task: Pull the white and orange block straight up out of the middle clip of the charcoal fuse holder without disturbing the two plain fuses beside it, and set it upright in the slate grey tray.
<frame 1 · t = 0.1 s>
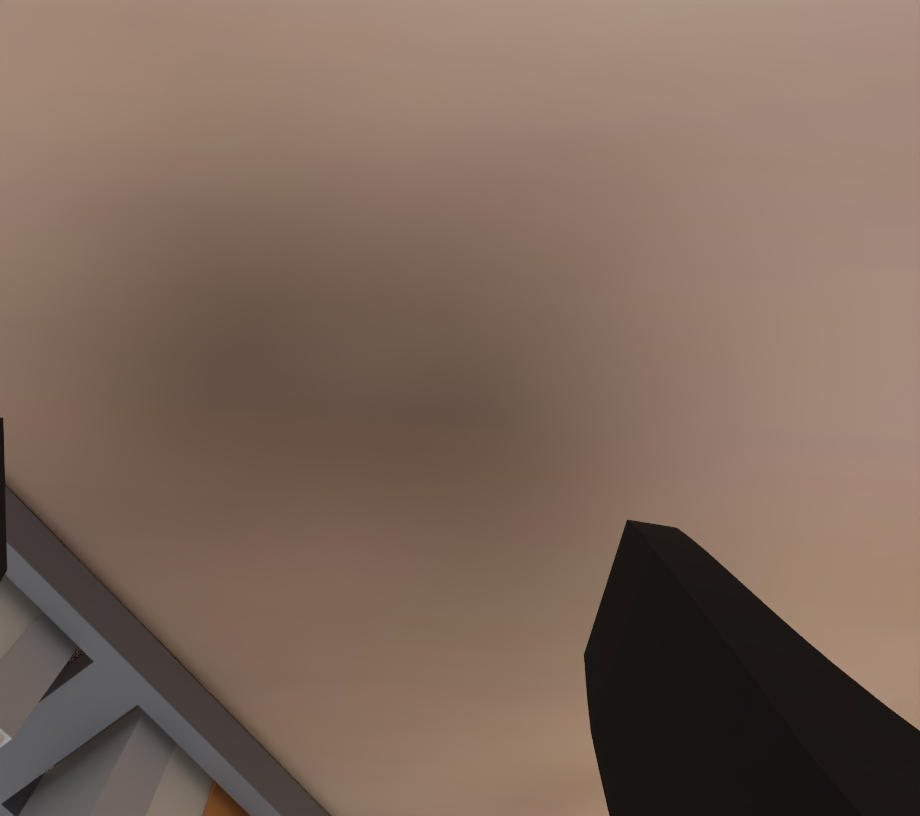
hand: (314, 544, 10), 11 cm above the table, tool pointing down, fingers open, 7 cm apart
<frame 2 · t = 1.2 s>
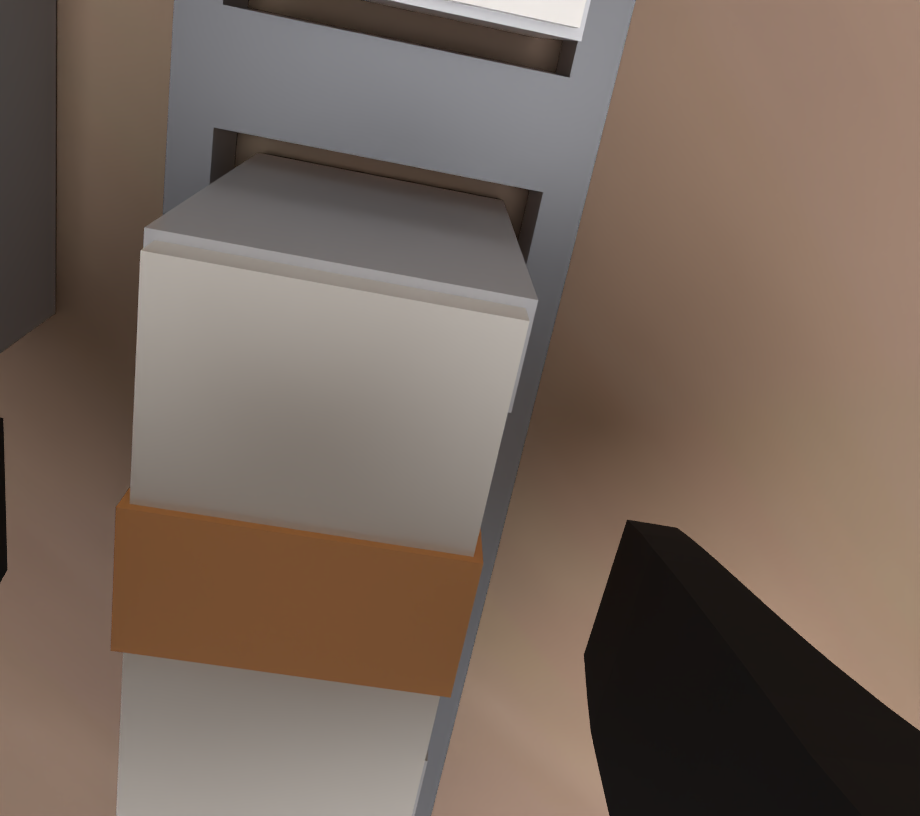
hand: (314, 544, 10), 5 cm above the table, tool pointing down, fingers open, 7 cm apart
white and orange block: (329, 470, 12), in the fuse holder
fuse holder: (350, 386, 14), on the table
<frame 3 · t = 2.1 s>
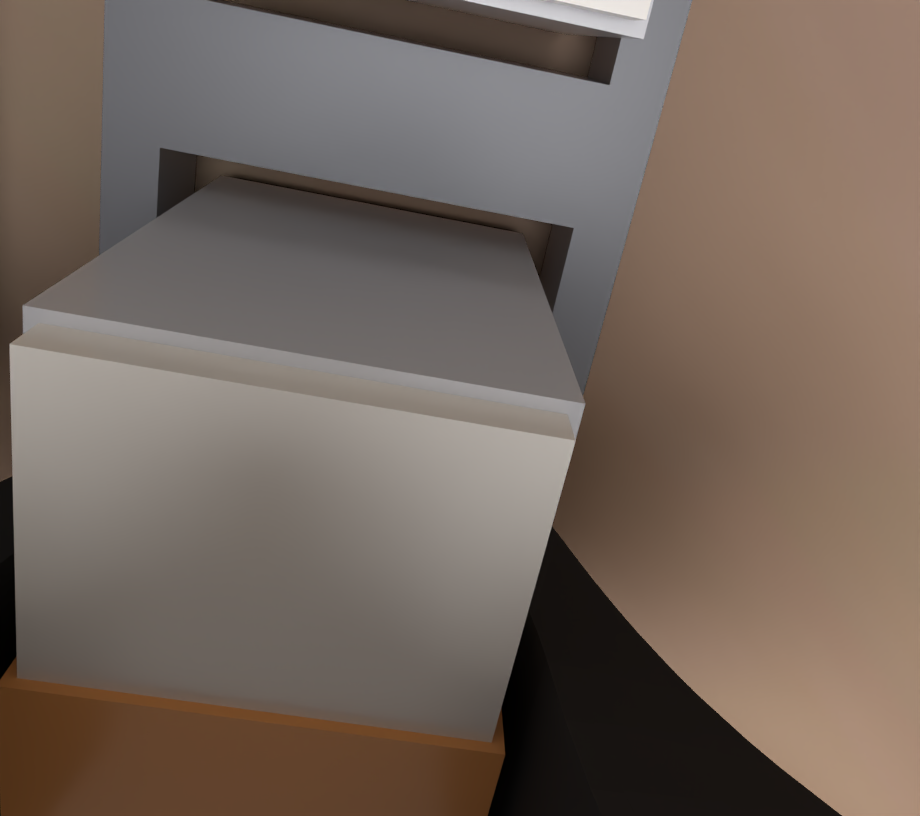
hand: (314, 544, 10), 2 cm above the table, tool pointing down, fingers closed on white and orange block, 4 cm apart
white and orange block: (306, 575, 9), in the fuse holder, touching gripper
fuse holder: (338, 450, 12), on the table
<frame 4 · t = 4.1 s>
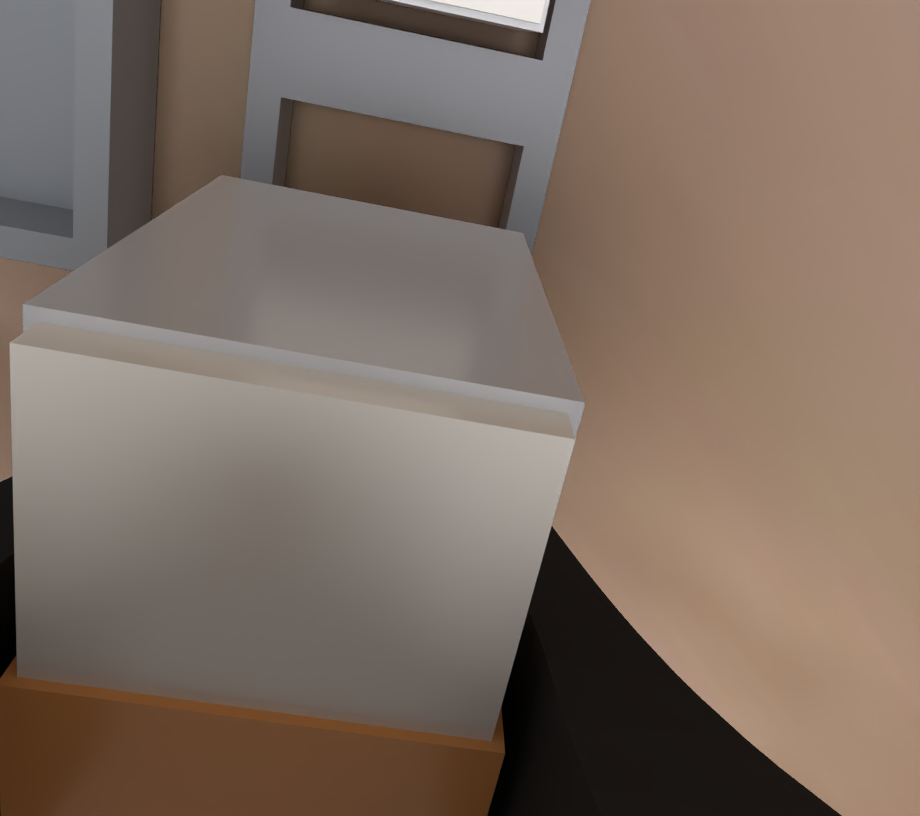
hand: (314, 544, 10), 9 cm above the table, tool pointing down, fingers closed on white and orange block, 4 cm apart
white and orange block: (306, 574, 9), point 10 cm above the table, touching gripper
fuse holder: (377, 304, 18), on the table
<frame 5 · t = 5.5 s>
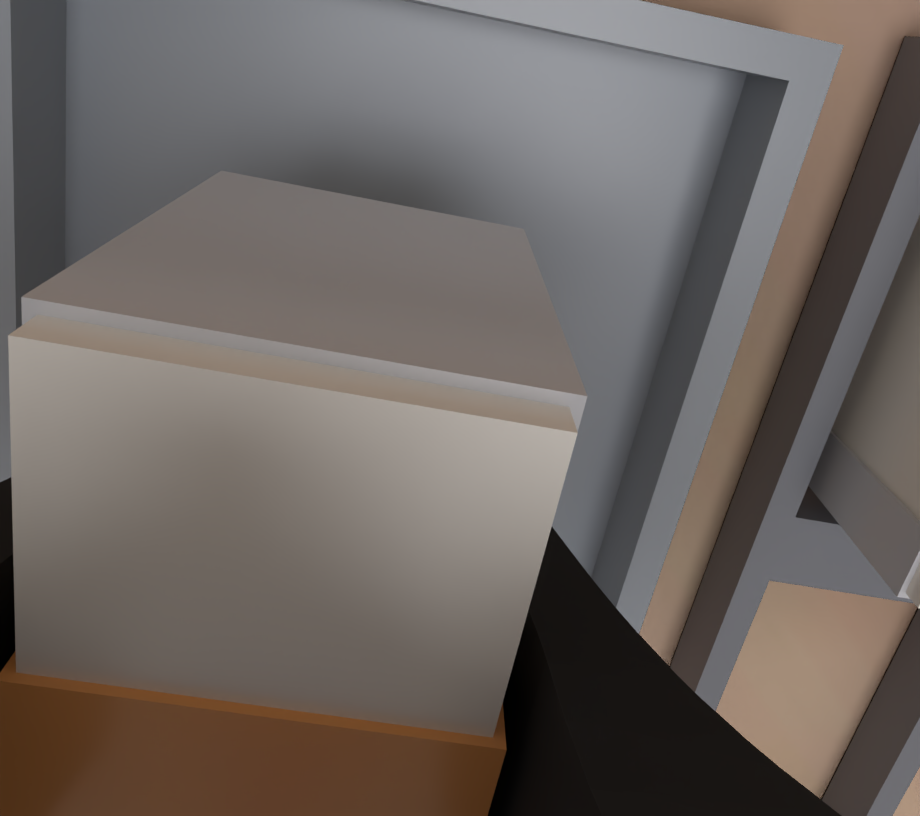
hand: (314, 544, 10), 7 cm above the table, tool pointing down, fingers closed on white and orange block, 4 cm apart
tray: (367, 340, 16), on the table
white and orange block: (306, 571, 9), point 8 cm above the table, touching gripper
fuse holder: (780, 694, 20), on the table
when the fingers open (4 cm above the table, at t = 6.4 s): white and orange block drops 1 cm, resting on tray.
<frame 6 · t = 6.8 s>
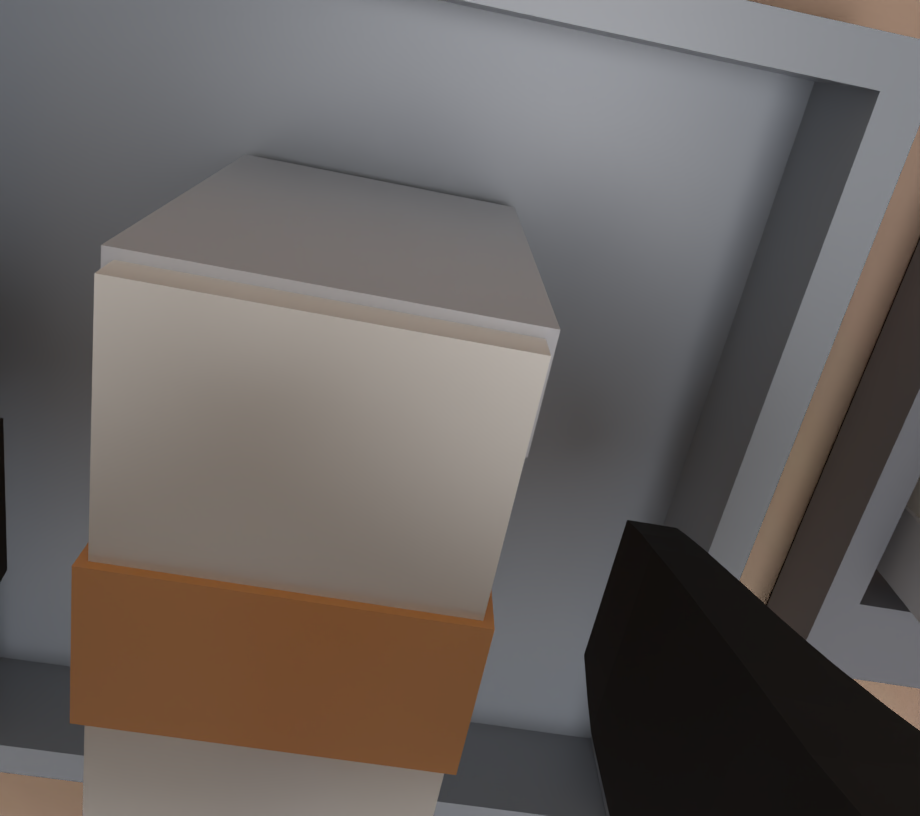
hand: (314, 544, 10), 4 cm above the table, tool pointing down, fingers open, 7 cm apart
tray: (353, 395, 14), on the table
white and orange block: (321, 506, 11), in the tray, point 4 cm above the table
fuse holder: (828, 787, 18), on the table
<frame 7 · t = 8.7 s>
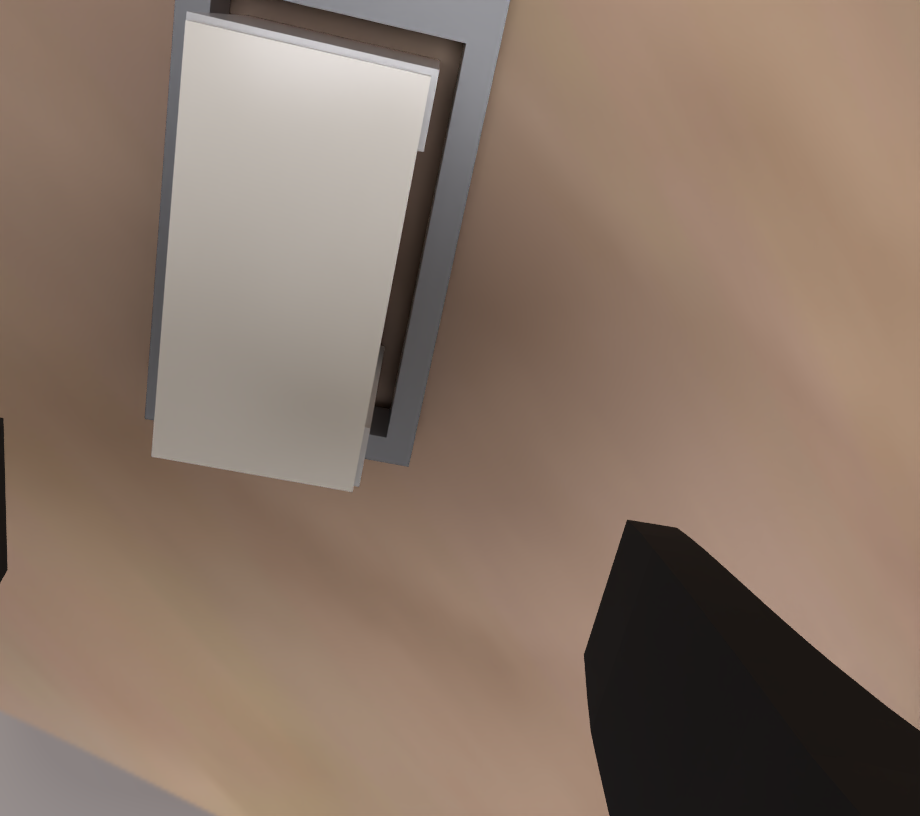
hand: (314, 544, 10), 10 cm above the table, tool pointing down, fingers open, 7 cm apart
fuse 2: (319, 218, 18), resting in fuse holder
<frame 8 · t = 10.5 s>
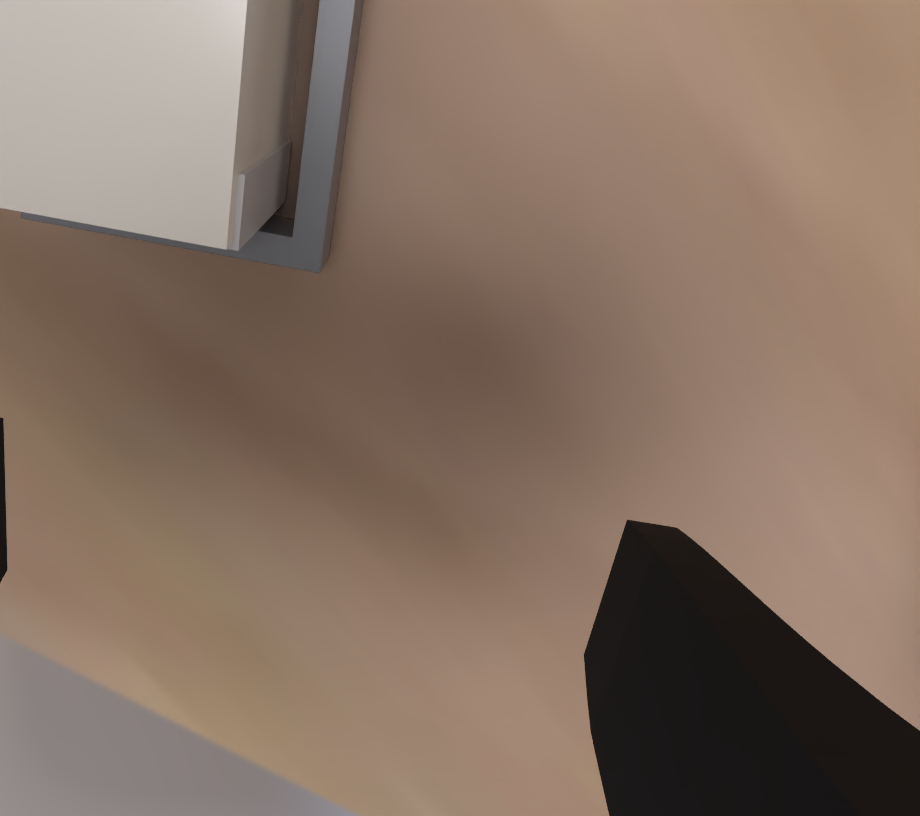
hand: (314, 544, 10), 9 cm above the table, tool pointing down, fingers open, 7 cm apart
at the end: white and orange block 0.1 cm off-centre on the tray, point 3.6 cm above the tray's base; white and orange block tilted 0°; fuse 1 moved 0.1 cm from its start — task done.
